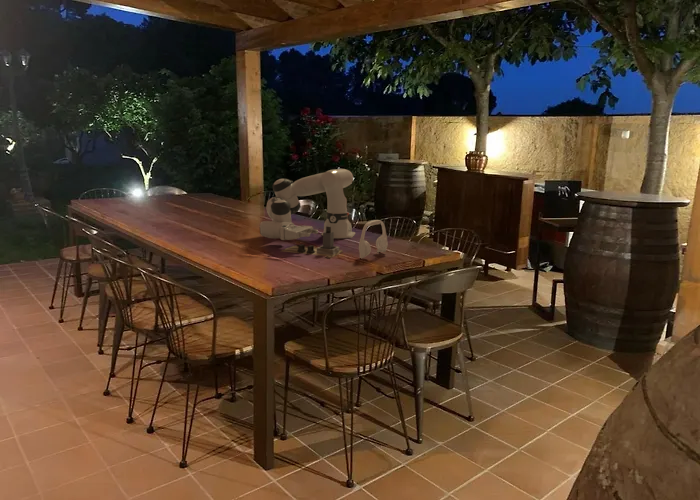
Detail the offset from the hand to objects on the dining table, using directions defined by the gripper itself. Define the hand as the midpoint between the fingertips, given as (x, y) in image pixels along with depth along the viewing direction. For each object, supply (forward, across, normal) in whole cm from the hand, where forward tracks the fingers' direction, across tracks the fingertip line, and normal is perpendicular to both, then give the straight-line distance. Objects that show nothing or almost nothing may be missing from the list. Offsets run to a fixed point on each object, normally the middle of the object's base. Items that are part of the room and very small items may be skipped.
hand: (313, 233), depth 276 cm
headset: (+29, -7, -10) cm, 31 cm away
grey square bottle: (+8, 0, -9) cm, 12 cm away
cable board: (-1, 0, -10) cm, 10 cm away
